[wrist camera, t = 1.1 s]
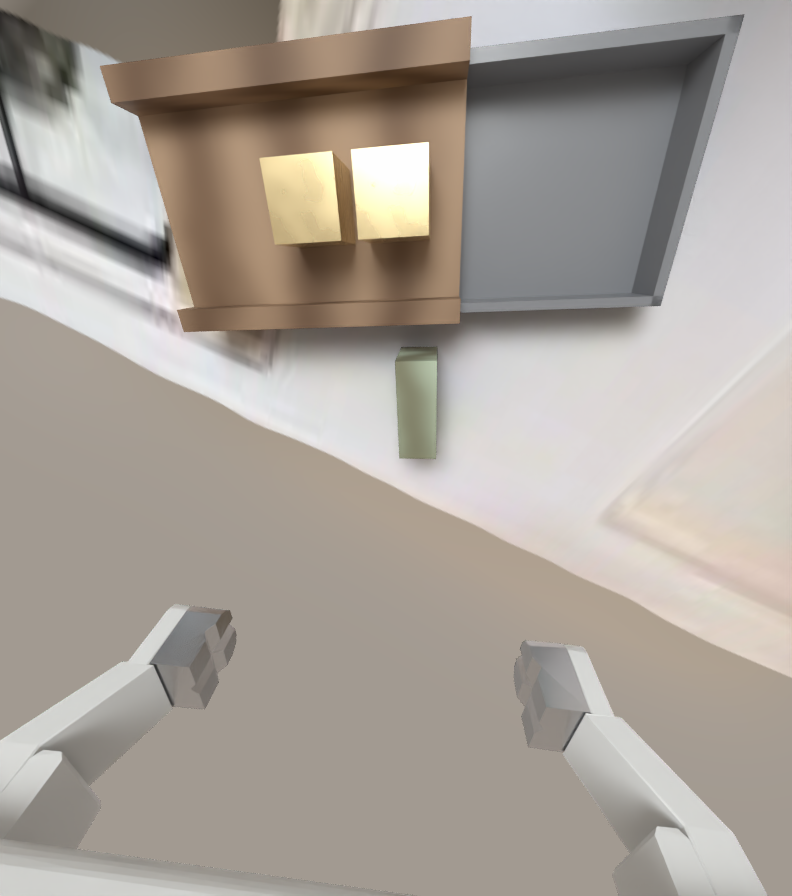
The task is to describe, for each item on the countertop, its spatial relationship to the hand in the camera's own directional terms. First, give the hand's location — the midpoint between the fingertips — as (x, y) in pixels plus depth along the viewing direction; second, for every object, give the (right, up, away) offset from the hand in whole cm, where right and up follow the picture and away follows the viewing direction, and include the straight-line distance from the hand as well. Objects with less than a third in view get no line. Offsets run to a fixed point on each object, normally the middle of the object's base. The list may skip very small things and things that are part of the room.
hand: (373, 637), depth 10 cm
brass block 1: (-4, +21, +13) cm, 25 cm away
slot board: (-5, +22, +16) cm, 28 cm away
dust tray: (+12, +22, +14) cm, 29 cm away
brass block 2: (+1, +21, +12) cm, 24 cm away
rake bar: (+3, +10, +21) cm, 24 cm away
